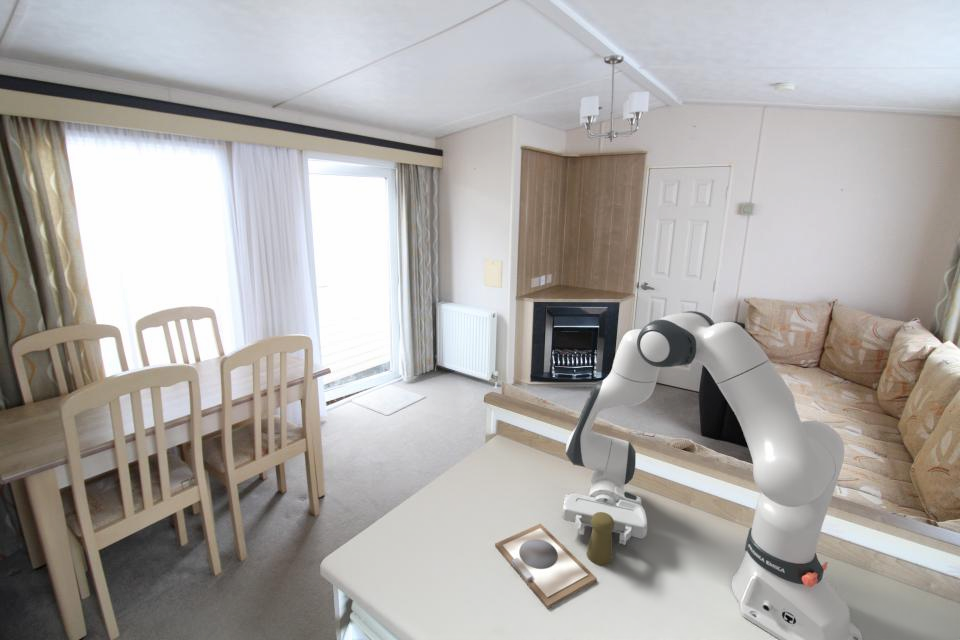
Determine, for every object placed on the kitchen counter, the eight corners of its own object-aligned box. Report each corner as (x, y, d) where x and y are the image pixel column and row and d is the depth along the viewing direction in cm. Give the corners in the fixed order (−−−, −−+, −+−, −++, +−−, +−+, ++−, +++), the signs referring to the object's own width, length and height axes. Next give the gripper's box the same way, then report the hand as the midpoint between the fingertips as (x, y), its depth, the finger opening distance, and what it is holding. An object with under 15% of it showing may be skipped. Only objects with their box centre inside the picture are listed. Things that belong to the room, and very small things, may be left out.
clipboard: (596, 580, 100) (596, 575, 100) (547, 608, 93) (547, 602, 93) (540, 526, 117) (540, 520, 116) (495, 546, 110) (495, 540, 109)
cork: (613, 567, 104) (617, 527, 101) (586, 563, 105) (590, 523, 102) (611, 548, 110) (615, 510, 107) (586, 544, 111) (589, 506, 108)
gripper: (566, 482, 120) (557, 515, 107) (647, 498, 114) (648, 536, 101) (565, 502, 122) (556, 537, 109) (645, 520, 115) (645, 559, 103)
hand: (601, 537), depth 105 cm, fingers open, 8 cm apart
